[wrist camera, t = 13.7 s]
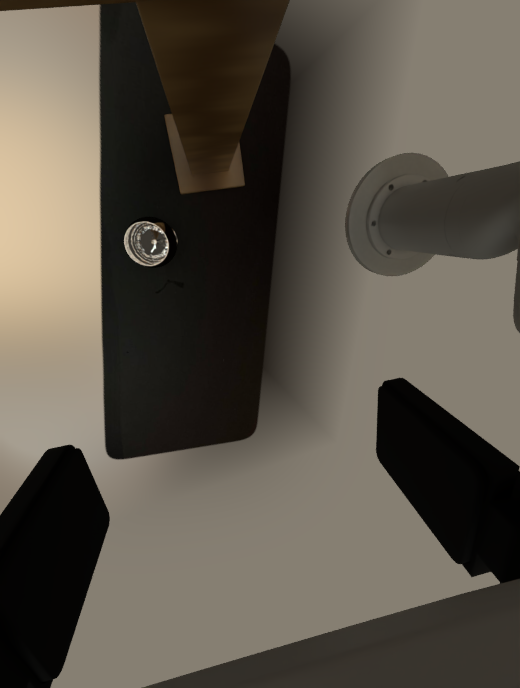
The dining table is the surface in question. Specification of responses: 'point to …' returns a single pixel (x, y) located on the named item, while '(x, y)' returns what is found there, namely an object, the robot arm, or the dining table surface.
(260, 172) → the dining table surface
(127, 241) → the wineglass
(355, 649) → the robot arm
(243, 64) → the pedestal
